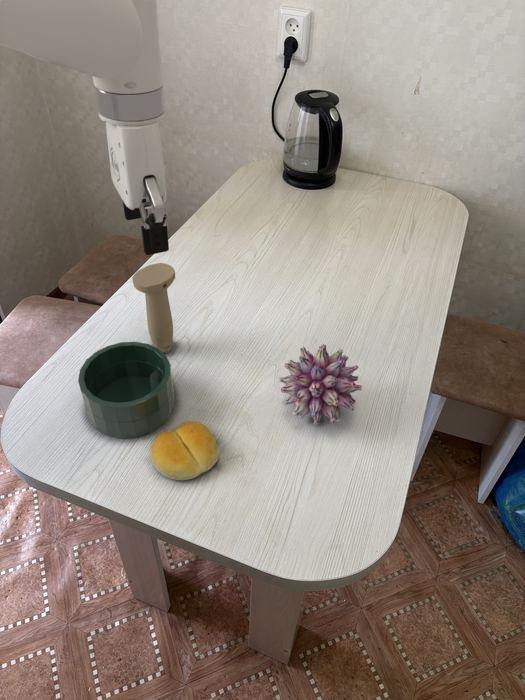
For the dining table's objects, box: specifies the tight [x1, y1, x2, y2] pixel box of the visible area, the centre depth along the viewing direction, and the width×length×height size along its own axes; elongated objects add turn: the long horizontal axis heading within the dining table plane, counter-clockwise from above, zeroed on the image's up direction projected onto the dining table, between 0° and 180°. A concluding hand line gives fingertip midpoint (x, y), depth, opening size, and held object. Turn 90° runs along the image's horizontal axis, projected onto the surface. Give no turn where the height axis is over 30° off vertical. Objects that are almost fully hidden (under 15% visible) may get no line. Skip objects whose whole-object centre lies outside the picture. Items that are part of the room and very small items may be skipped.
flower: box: [278, 343, 363, 427], centre depth 73 cm, size 12×12×12 cm
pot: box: [77, 341, 175, 439], centre depth 73 cm, size 13×13×7 cm
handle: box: [131, 262, 176, 354], centre depth 80 cm, size 5×6×15 cm
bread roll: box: [150, 420, 220, 481], centre depth 68 cm, size 8×9×4 cm
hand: (146, 234), depth 69 cm, fingers open, 9 cm apart
